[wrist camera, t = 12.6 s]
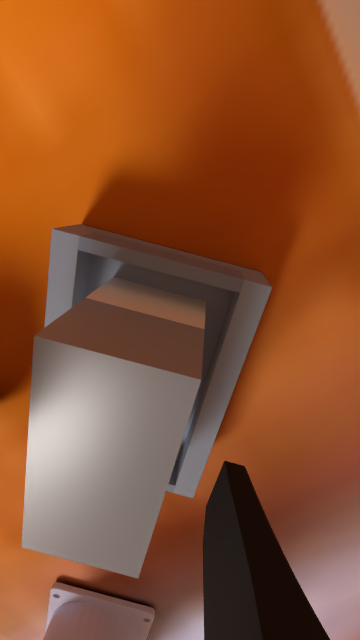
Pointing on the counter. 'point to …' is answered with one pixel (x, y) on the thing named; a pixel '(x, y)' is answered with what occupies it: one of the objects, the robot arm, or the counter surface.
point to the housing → (109, 421)
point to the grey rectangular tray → (182, 278)
